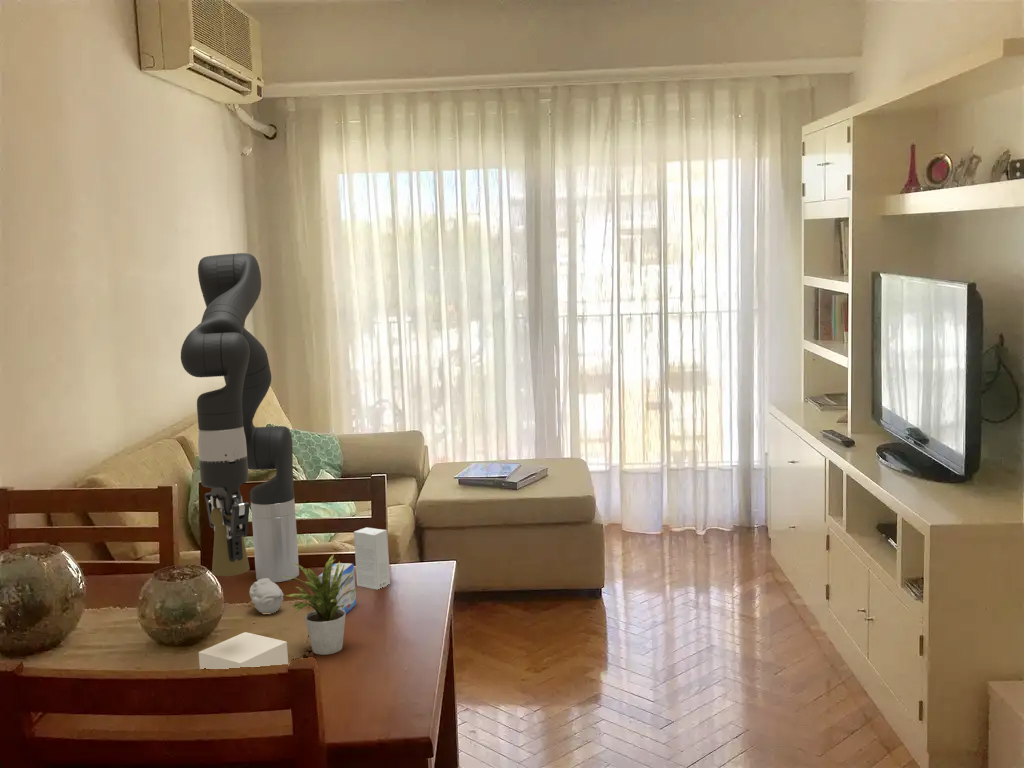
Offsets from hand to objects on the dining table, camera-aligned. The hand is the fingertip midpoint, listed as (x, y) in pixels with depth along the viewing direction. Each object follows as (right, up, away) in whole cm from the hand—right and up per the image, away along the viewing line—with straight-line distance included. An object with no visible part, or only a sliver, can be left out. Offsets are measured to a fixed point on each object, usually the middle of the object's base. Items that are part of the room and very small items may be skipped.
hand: (230, 557), depth 157 cm
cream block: (+2, -20, +1) cm, 20 cm away
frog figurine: (-1, -17, +30) cm, 35 cm away
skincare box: (+17, -14, +45) cm, 50 cm away
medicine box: (+12, -16, +30) cm, 36 cm away
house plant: (+13, -18, +12) cm, 26 cm away
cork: (0, -2, 0) cm, 2 cm away
